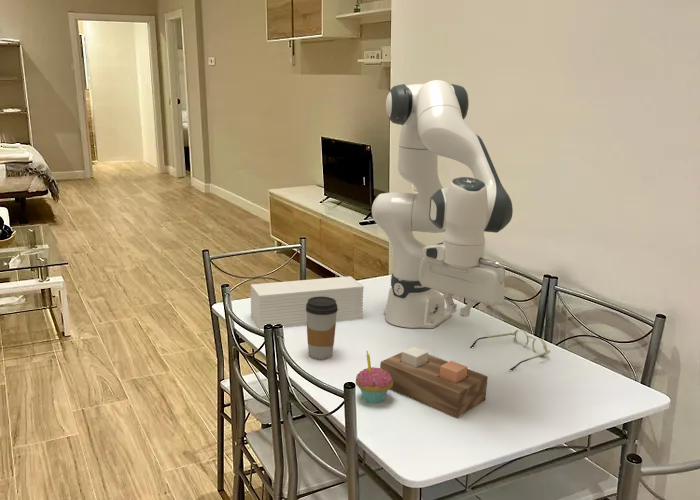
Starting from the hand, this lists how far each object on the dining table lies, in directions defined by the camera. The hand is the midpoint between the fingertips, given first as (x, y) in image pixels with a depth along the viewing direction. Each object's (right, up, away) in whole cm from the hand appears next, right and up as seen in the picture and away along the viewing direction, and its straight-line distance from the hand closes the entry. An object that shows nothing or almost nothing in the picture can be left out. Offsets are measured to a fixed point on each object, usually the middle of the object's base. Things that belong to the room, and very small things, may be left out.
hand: (458, 314), depth 144 cm
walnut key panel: (-5, -19, +9) cm, 22 cm away
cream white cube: (-9, -14, +11) cm, 20 cm away
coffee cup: (-32, -14, +27) cm, 44 cm away
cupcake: (-19, -20, +5) cm, 28 cm away
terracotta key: (-1, -16, +4) cm, 17 cm away
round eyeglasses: (+19, -15, +32) cm, 40 cm away
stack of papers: (-37, -7, +53) cm, 65 cm away
